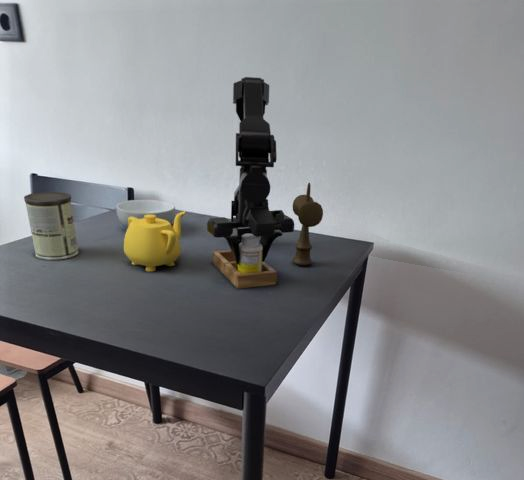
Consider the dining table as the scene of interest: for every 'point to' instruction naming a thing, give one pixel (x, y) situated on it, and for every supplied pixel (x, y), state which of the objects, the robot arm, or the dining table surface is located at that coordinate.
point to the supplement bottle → (250, 254)
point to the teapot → (153, 241)
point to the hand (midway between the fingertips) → (249, 262)
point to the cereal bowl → (145, 210)
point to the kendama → (306, 225)
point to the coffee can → (52, 225)
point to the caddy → (246, 280)
